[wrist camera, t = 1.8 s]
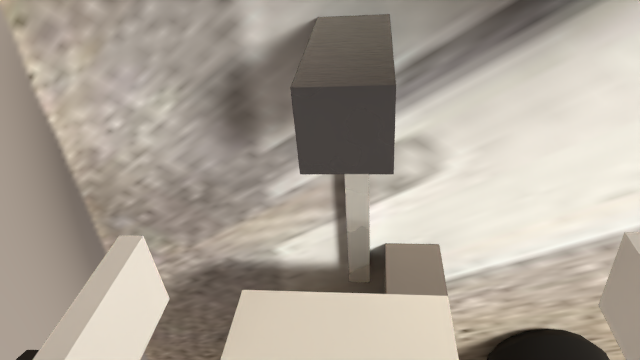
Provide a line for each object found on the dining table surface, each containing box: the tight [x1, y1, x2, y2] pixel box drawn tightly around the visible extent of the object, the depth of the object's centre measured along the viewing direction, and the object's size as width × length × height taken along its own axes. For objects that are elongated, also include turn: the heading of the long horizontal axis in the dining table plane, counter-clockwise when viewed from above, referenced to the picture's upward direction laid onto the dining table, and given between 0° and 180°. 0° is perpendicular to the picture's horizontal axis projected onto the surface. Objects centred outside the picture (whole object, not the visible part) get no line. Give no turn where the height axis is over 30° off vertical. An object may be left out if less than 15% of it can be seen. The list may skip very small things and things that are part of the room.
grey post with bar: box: [291, 14, 396, 282], centre depth 27 cm, size 20×4×10 cm, turn 4°
